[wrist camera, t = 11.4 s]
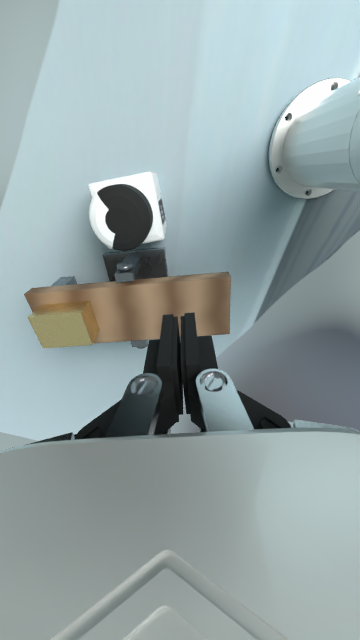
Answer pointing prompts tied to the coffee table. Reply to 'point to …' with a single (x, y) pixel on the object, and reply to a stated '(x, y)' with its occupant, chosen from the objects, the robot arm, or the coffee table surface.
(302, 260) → the coffee table surface
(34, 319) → the slider
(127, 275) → the stand
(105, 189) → the container
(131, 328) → the beam
